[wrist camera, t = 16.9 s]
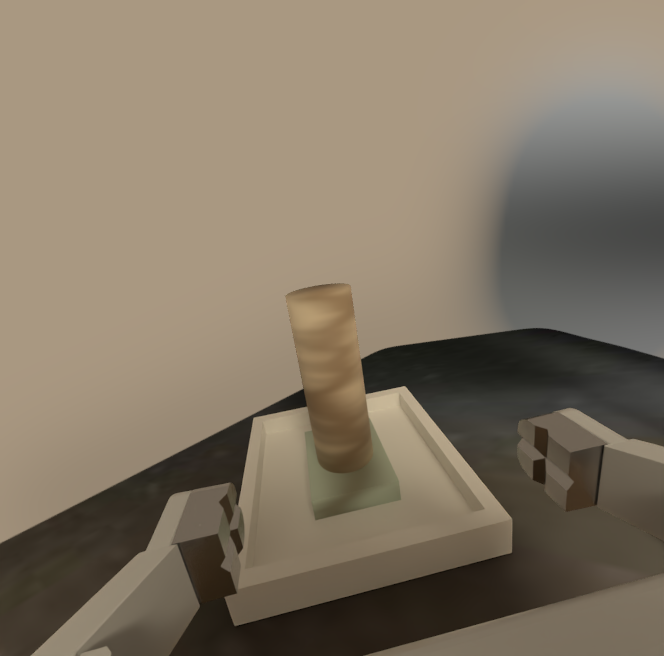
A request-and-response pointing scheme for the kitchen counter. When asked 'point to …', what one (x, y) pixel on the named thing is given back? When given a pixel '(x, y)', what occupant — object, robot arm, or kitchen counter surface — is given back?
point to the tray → (358, 515)
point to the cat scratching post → (337, 406)
